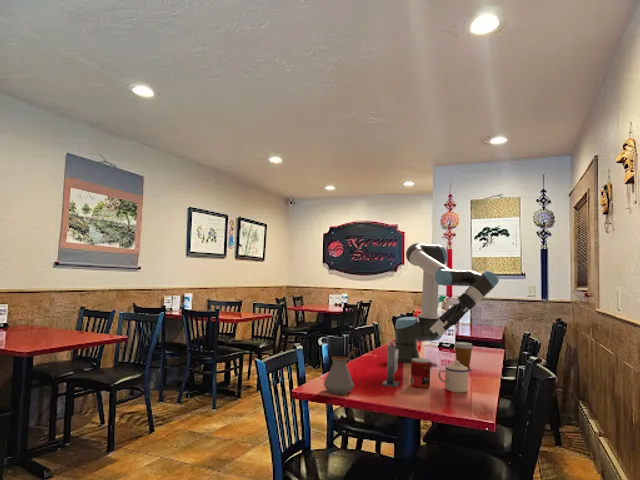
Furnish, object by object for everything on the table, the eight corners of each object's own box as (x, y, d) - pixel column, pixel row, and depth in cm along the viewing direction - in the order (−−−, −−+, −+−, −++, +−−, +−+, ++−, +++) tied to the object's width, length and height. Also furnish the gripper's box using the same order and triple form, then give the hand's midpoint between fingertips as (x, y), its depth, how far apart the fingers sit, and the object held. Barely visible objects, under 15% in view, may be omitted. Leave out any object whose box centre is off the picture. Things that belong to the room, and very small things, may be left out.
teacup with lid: (470, 389, 182) (470, 360, 183) (466, 394, 174) (466, 364, 175) (440, 385, 188) (441, 357, 189) (435, 389, 180) (436, 360, 181)
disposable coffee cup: (449, 365, 234) (450, 342, 235) (463, 364, 238) (463, 341, 239) (462, 368, 226) (462, 344, 227) (476, 367, 230) (477, 344, 231)
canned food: (425, 389, 179) (426, 362, 179) (407, 386, 183) (408, 359, 184) (433, 386, 185) (433, 359, 186) (415, 383, 189) (415, 357, 190)
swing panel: (392, 377, 184) (393, 342, 185) (388, 377, 185) (389, 342, 186) (398, 368, 203) (398, 337, 204) (394, 368, 204) (395, 336, 205)
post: (384, 382, 188) (385, 344, 190) (398, 384, 187) (399, 345, 188) (382, 385, 183) (383, 346, 184) (396, 387, 181) (397, 347, 182)
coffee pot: (345, 397, 162) (347, 356, 163) (318, 392, 167) (320, 352, 169) (367, 386, 181) (369, 349, 182) (342, 382, 186) (343, 345, 187)
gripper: (485, 306, 191) (449, 342, 189) (466, 303, 212) (433, 335, 210) (474, 293, 191) (437, 329, 189) (455, 291, 212) (422, 323, 210)
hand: (435, 332), depth 199 cm, fingers open, 9 cm apart
